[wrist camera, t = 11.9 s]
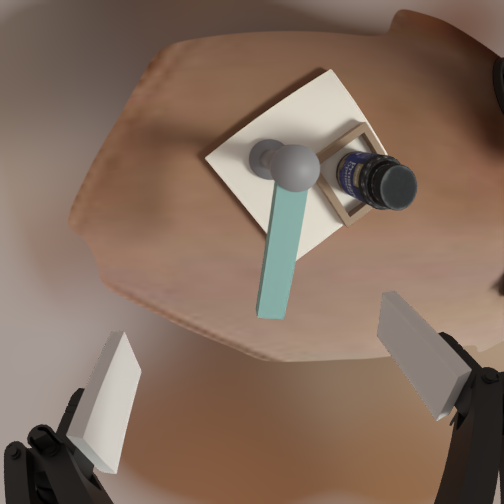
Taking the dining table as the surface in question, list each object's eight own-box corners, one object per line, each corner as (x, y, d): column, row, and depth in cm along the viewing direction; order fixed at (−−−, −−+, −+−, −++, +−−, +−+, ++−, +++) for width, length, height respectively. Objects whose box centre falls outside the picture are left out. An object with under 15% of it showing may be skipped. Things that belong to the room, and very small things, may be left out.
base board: (328, 71, 32) (376, 40, 19) (396, 178, 37) (459, 197, 25) (205, 157, 35) (192, 164, 22) (289, 260, 41) (316, 314, 28)
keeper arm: (272, 141, 21) (276, 141, 20) (316, 148, 22) (323, 149, 20) (249, 308, 27) (250, 319, 25) (287, 310, 27) (290, 321, 25)
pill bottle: (329, 156, 35) (367, 163, 24) (370, 146, 34) (417, 151, 24) (341, 201, 37) (379, 224, 27) (379, 190, 37) (426, 208, 26)
